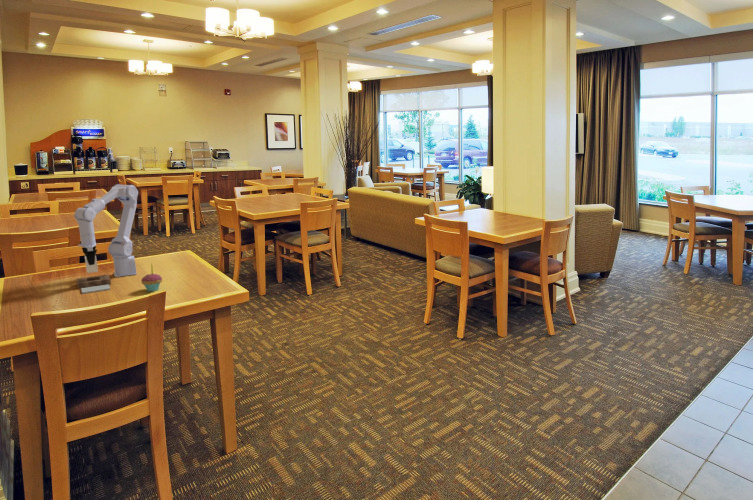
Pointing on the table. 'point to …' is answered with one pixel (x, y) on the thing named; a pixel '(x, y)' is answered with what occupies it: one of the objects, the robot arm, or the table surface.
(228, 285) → the table surface
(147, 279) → the cupcake
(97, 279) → the pocket board
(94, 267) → the cream block
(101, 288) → the grey mat
